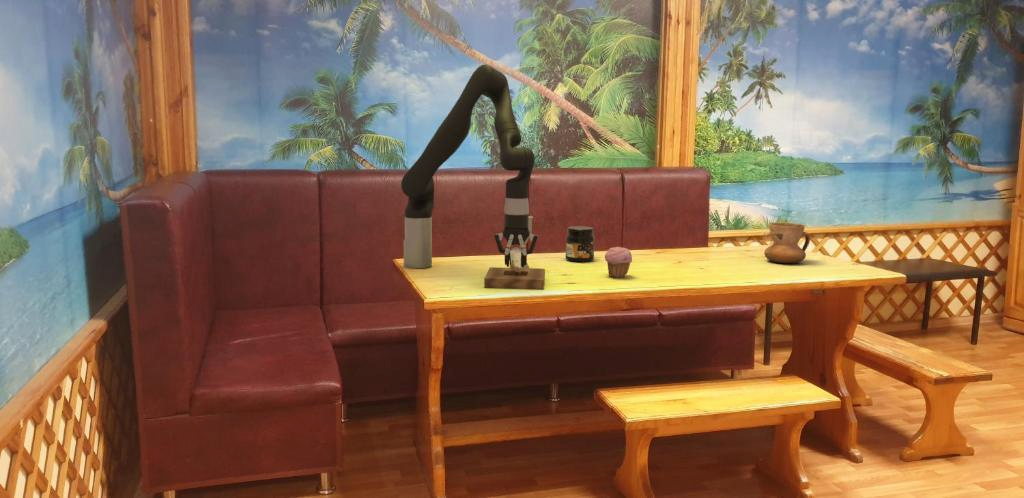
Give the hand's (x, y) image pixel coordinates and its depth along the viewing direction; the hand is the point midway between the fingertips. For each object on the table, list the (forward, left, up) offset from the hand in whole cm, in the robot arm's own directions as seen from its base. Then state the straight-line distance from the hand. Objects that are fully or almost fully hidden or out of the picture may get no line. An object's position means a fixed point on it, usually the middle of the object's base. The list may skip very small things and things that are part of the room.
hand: (515, 266), depth 250 cm
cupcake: (+33, +14, -5) cm, 36 cm away
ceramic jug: (+97, +50, -5) cm, 109 cm away
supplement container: (+21, +43, -5) cm, 48 cm away
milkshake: (0, 0, -3) cm, 3 cm away
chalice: (+1, +23, -5) cm, 24 cm away
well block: (0, 0, -5) cm, 5 cm away
